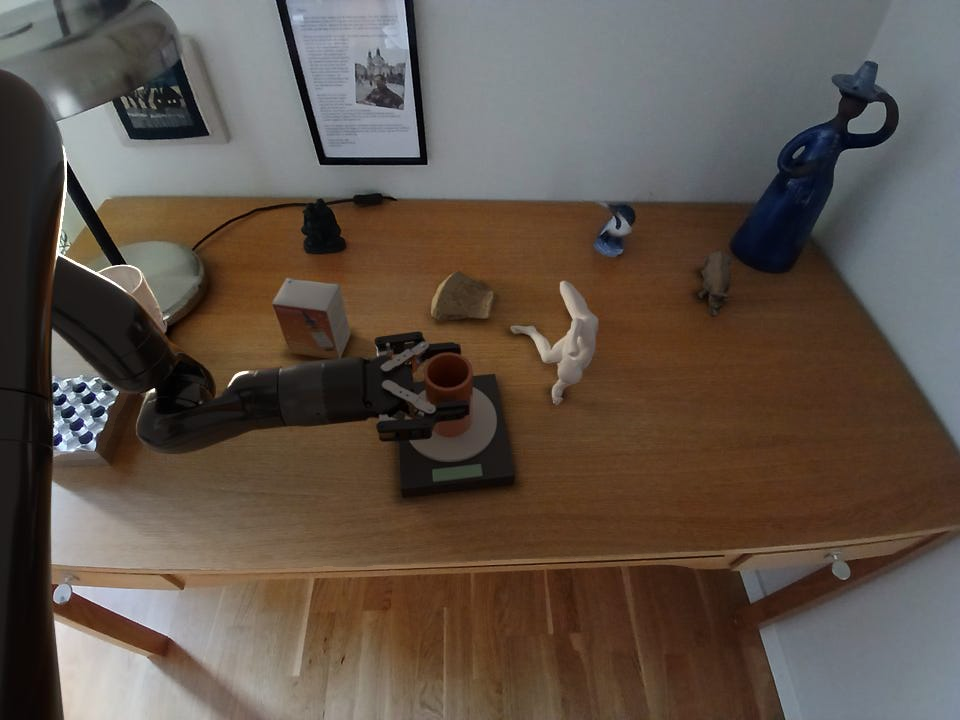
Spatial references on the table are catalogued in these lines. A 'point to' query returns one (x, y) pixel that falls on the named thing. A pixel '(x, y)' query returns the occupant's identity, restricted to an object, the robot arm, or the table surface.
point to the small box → (312, 318)
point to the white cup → (136, 289)
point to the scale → (460, 450)
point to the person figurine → (568, 342)
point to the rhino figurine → (716, 280)
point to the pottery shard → (462, 299)
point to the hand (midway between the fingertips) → (464, 378)
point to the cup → (449, 388)
